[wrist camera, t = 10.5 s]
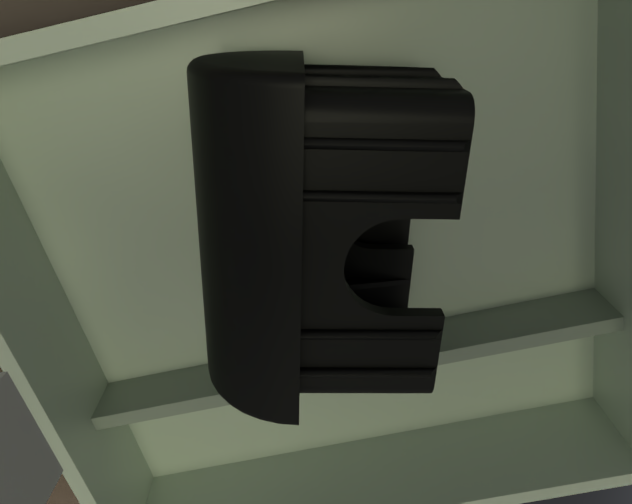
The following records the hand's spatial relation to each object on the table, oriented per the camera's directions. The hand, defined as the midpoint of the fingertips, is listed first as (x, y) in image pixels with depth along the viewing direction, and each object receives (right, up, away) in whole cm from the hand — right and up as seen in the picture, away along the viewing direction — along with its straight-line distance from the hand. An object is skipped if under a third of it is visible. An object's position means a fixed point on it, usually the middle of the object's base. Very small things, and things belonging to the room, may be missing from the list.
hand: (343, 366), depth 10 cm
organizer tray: (0, +2, +11) cm, 11 cm away
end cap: (-1, +5, +9) cm, 10 cm away
